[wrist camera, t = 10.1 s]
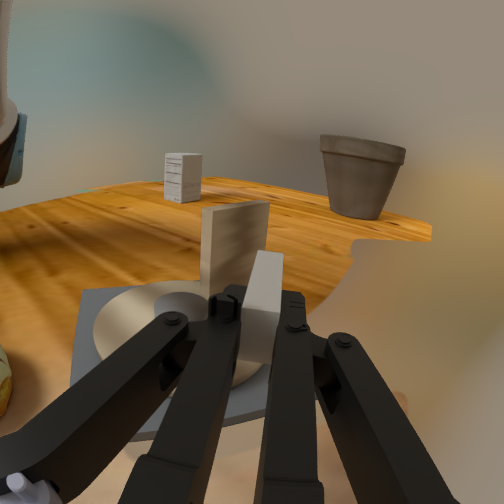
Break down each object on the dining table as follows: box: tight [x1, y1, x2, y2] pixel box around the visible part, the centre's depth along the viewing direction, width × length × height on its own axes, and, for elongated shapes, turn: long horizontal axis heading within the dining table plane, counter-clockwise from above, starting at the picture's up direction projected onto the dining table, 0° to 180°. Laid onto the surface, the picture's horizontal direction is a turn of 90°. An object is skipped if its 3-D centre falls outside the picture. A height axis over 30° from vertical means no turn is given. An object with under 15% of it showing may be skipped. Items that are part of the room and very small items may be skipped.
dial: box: [93, 200, 270, 397], centre depth 23 cm, size 17×15×10 cm
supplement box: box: [164, 153, 203, 203], centre depth 77 cm, size 7×7×13 cm
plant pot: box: [320, 134, 406, 220], centre depth 80 cm, size 25×25×22 cm
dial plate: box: [70, 280, 318, 442], centre depth 24 cm, size 19×19×1 cm
